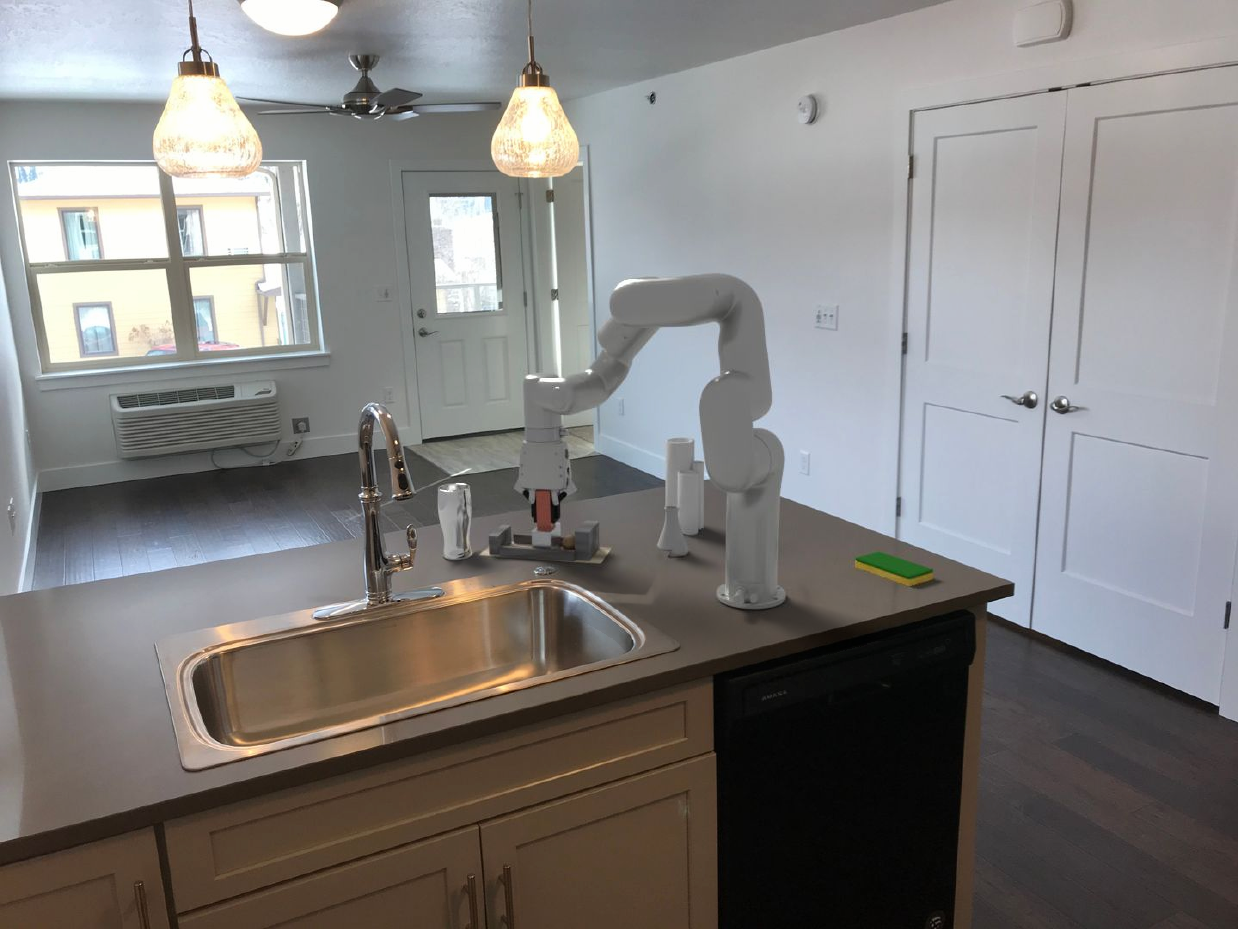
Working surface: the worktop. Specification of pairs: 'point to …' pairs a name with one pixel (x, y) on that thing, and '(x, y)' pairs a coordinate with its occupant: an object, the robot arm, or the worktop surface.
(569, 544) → the walnut
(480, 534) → the worktop surface
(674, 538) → the flask
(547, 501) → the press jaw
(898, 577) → the dish sponge
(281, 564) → the worktop surface
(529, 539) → the cracker board
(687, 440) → the vase
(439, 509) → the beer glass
